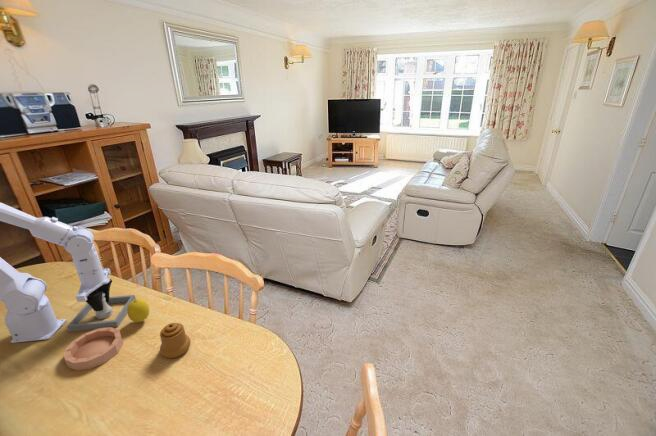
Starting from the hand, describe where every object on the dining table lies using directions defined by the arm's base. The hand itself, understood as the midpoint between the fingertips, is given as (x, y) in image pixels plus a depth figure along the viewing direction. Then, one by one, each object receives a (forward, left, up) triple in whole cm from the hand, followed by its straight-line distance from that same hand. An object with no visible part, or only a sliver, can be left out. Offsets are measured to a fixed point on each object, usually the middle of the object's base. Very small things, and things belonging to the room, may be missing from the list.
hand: (102, 306), depth 93 cm
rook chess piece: (0, 0, -3) cm, 3 cm away
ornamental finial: (+26, -18, -3) cm, 32 cm away
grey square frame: (0, 0, -3) cm, 3 cm away
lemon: (+12, -5, -3) cm, 14 cm away
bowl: (+5, -15, -3) cm, 17 cm away
